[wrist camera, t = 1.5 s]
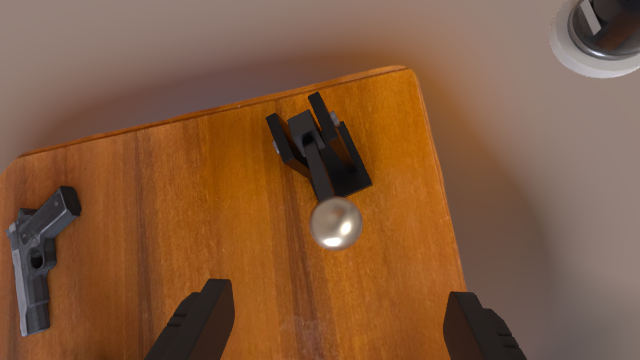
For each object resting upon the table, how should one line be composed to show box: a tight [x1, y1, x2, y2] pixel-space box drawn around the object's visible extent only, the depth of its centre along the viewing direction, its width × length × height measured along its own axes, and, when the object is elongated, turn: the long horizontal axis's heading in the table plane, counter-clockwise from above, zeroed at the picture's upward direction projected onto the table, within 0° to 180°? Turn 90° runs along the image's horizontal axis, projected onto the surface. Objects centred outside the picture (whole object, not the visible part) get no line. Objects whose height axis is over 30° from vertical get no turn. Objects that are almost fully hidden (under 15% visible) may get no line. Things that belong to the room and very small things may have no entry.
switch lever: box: [287, 109, 363, 251], centre depth 25 cm, size 13×4×4 cm
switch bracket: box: [266, 92, 373, 202], centre depth 34 cm, size 9×7×16 cm
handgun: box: [5, 186, 81, 336], centre depth 47 cm, size 2×19×12 cm
